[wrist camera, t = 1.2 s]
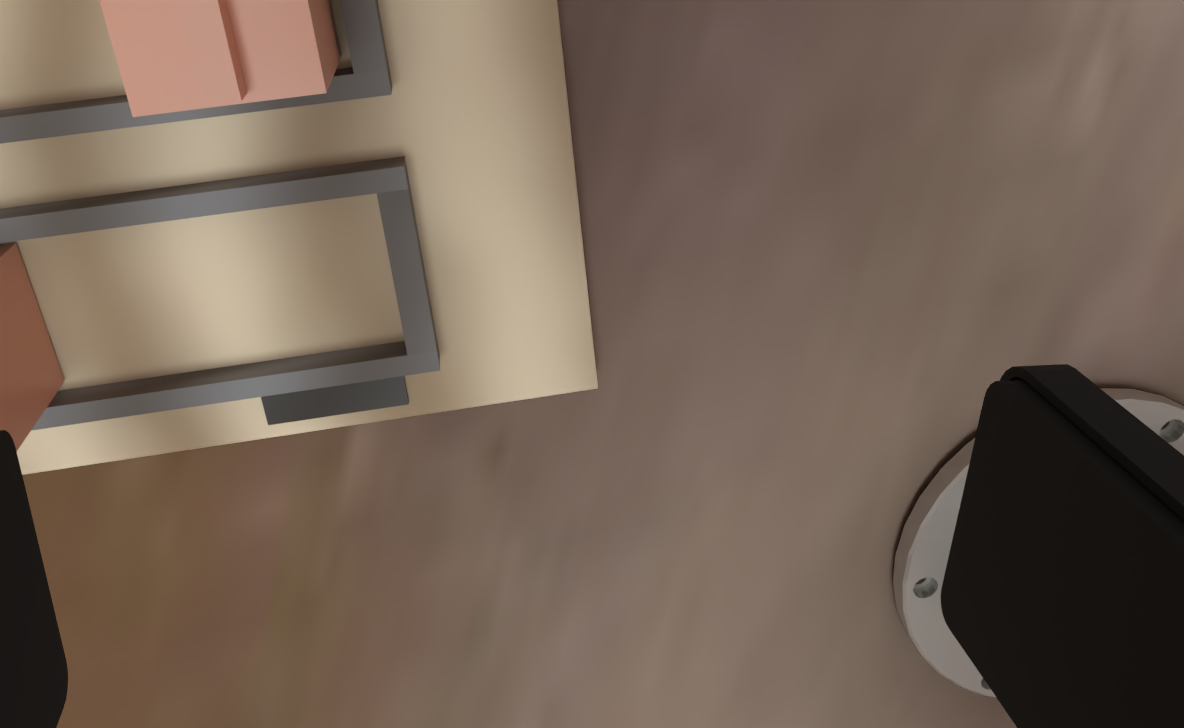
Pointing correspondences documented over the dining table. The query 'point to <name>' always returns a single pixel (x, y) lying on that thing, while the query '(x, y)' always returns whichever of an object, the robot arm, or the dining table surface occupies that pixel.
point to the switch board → (295, 232)
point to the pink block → (220, 51)
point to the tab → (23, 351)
